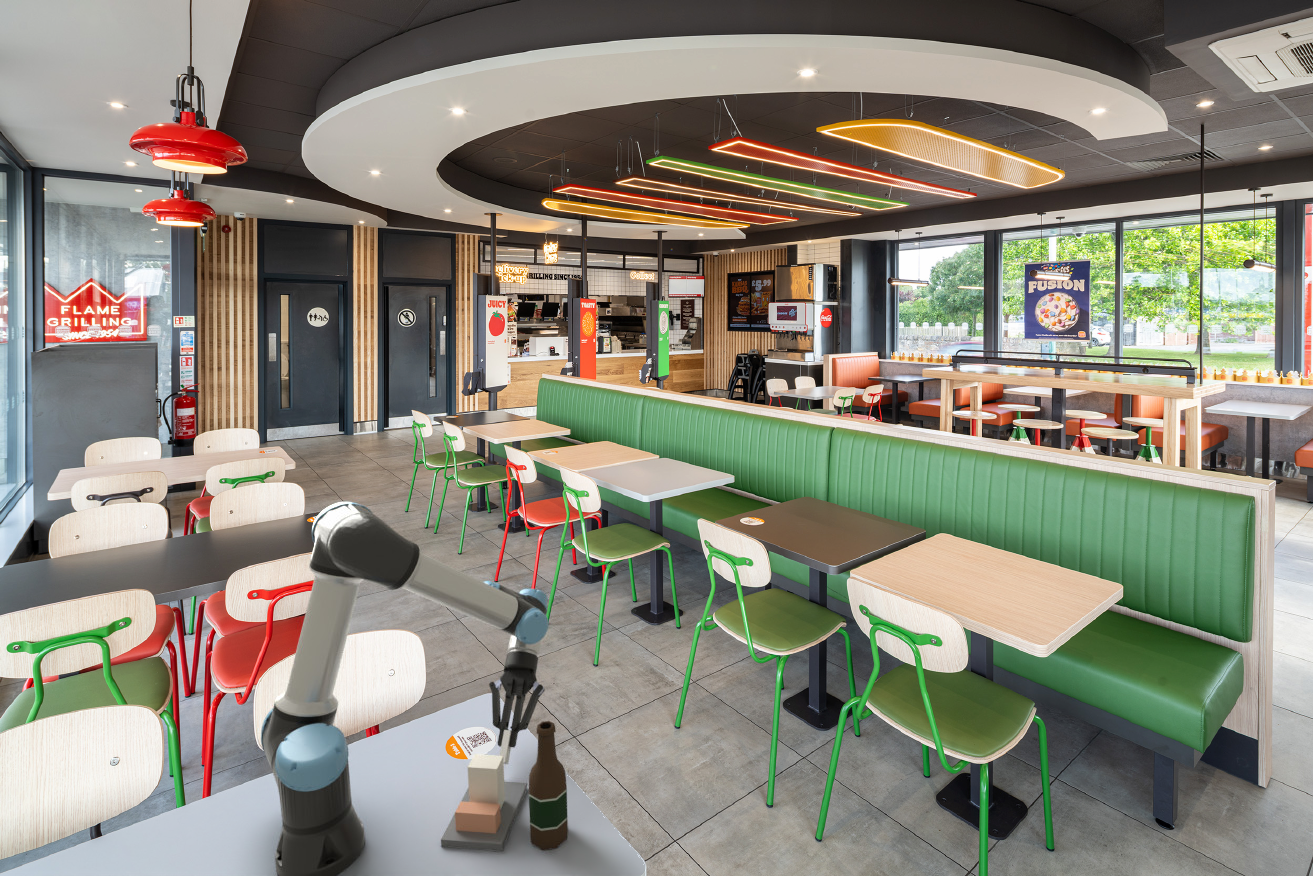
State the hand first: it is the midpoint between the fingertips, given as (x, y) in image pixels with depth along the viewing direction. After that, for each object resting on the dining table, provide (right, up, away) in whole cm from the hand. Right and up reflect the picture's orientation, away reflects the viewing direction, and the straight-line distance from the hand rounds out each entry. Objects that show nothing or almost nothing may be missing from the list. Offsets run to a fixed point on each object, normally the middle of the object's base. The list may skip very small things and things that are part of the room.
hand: (503, 763), depth 145 cm
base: (-1, -6, -10) cm, 12 cm away
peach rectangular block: (-2, -5, -14) cm, 15 cm away
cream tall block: (-1, -4, -9) cm, 10 cm away
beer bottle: (+12, -7, -15) cm, 21 cm away
